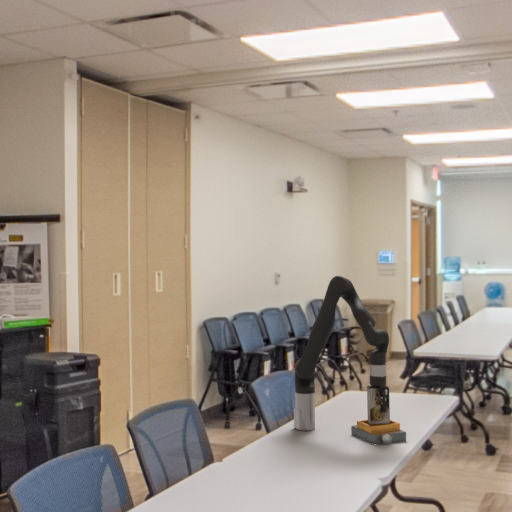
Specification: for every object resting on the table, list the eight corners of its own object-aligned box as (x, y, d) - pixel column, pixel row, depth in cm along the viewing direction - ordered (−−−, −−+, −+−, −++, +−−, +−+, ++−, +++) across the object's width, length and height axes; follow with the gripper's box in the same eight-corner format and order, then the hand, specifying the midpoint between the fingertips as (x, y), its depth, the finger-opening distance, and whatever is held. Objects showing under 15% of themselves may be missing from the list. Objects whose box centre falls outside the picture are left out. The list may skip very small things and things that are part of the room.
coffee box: (387, 420, 336) (386, 385, 336) (390, 423, 329) (389, 387, 329) (367, 420, 335) (366, 385, 335) (369, 424, 329) (369, 387, 329)
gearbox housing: (378, 446, 318) (377, 430, 317) (351, 434, 338) (351, 419, 338) (409, 442, 324) (409, 426, 324) (381, 431, 344) (381, 416, 344)
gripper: (362, 372, 337) (362, 408, 337) (379, 377, 324) (379, 414, 324) (376, 371, 340) (376, 407, 340) (393, 376, 327) (394, 413, 327)
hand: (378, 410), depth 332 cm, fingers closed on coffee box, 7 cm apart
